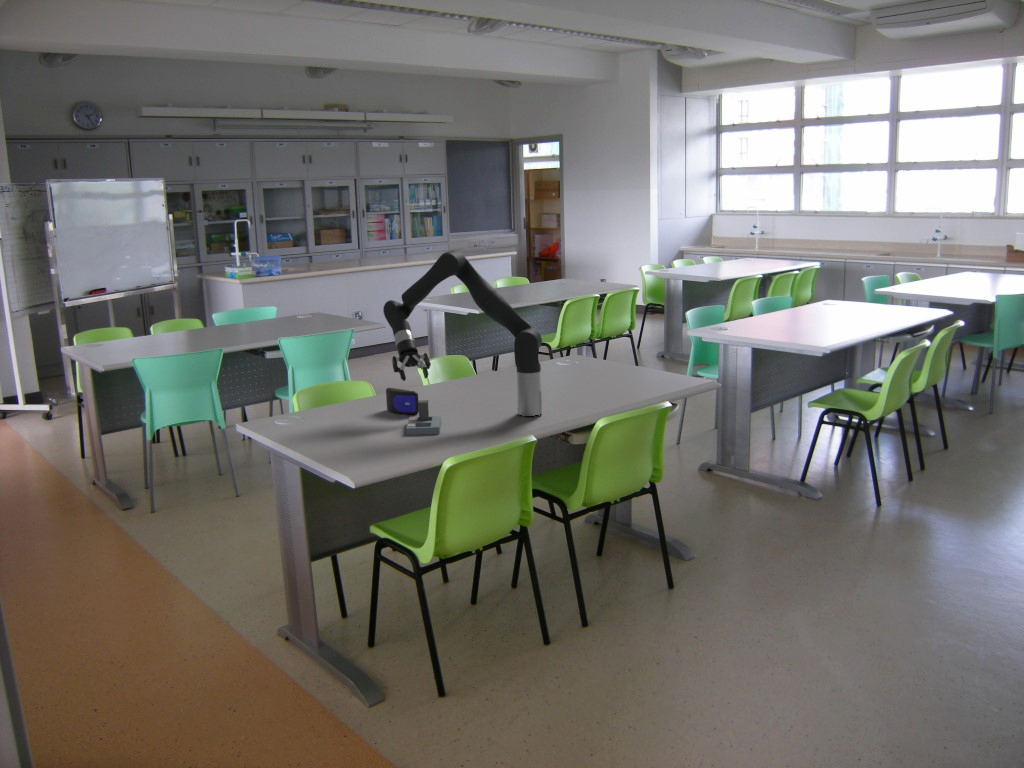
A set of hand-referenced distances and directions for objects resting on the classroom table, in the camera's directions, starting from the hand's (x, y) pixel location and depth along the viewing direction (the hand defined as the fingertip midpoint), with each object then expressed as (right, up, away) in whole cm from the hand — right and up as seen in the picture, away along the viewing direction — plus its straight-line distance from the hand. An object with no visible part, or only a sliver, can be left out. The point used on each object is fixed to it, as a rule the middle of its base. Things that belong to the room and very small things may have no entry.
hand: (415, 378), depth 319 cm
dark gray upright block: (+4, -17, -4) cm, 18 cm away
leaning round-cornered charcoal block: (-7, -14, +16) cm, 22 cm away
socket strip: (+4, -19, -8) cm, 21 cm away
